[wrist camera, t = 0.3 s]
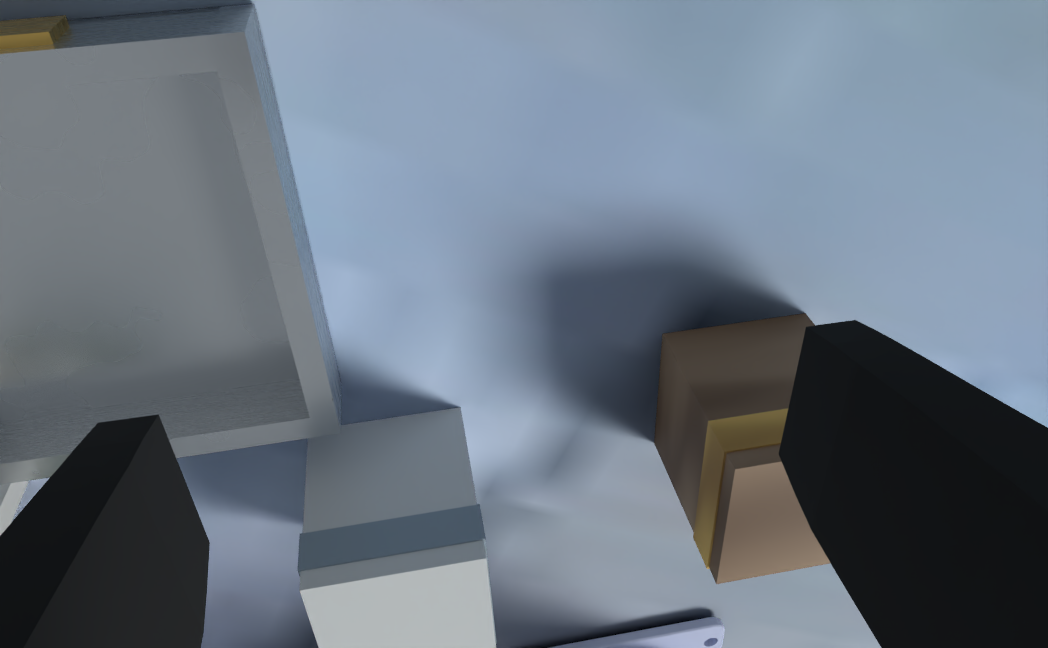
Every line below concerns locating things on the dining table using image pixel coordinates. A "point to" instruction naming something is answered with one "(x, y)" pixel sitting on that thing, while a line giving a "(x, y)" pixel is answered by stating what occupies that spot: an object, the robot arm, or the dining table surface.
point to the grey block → (395, 537)
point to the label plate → (10, 502)
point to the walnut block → (735, 444)
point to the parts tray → (152, 241)
